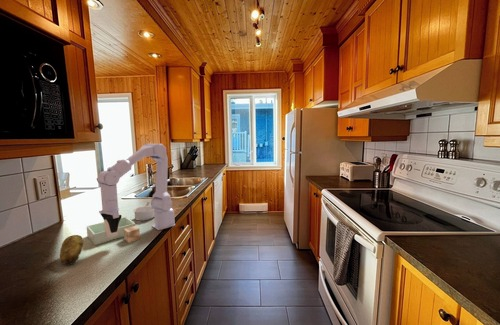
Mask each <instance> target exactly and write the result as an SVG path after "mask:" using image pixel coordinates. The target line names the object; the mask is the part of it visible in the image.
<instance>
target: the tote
mask: <svg viewBox="0 0 500 325" xmlns="http://www.w3.org/2000/svg"><path fill="white" fill-rule="evenodd" d="M118 226H119V235H117V236H115V237H111V238H107V237H105V225H104V221H103V222H99V223H94V224H90V225H86V235H87V236H86V237H88V239H89V240H90V242H91V243H92V244H93V246H97V245H101V244H105V243H108V242H111V241H114V240H113V239H115V240H117V238H118V239H121V238H124V229H126V228H130V227H133V226H136V223H135V222H134V221H133V220H131V219H130V218H128V217H127V216H125V217H123V216H122V217H121V219H120V221H119V225H118ZM120 237H121V238H120ZM110 240H111V241H110ZM107 241H108V242H107Z"/></svg>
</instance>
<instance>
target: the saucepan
mask: <svg viewBox="0 0 500 325" xmlns="http://www.w3.org/2000/svg"><path fill="white" fill-rule="evenodd" d="M150 204H151V202H150V201H147V203H146V205H145V206H138V207H136V208H134V209H133V212H134V220H137V221H143V222H144V221H149V220H151V219H153V218H155V214H154V208H153V207H152V206H151V205H150Z"/></svg>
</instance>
